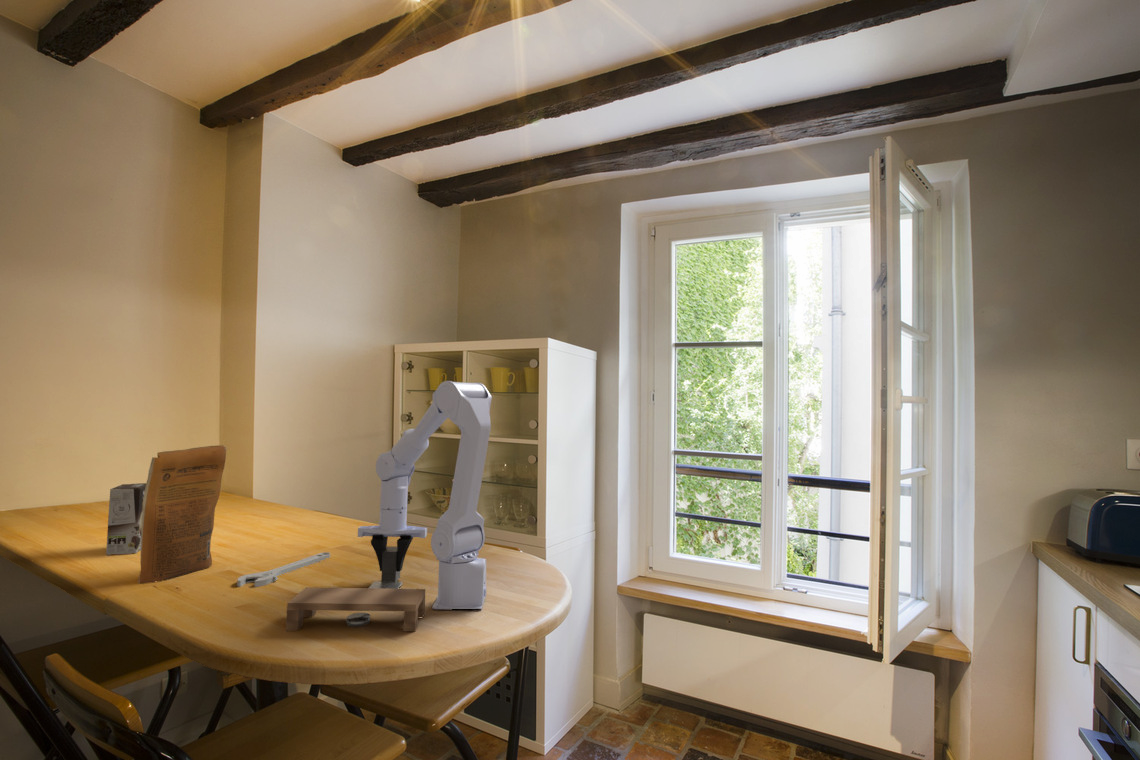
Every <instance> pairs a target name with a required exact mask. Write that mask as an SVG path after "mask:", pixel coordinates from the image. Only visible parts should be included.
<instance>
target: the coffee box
mask: <svg viewBox="0 0 1140 760" xmlns="http://www.w3.org/2000/svg"><path fill="white" fill-rule="evenodd" d="M146 483H147V482H145V483H144V482H143V483H129V484H128V483H125V484H124V483H123V484H119V485H117V486H115V487H113V488H110V489H109V490H110V491H109V501H108V503H109V505H108V516H107V517H108V518H107V531H106V532H107V535H106V549H105V551H106V552H105V555H106V556H110V555H111V554H116V555H131V554H132V553H135V554H137V553H138V552H141V527H142V512H143V498H144V493H145V488H146ZM132 555H133V554H132Z"/></svg>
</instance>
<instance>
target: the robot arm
mask: <svg viewBox="0 0 1140 760" xmlns="http://www.w3.org/2000/svg"><path fill="white" fill-rule="evenodd" d="M492 400H493V396H492V394H491V393H490V392H489V390H488V388H487V387H486V386H485V385H484V384H483V383H481V382H460V381H452V380H446V381H442V382H441V383H440V384H439V385H438V386H437V389H435V391H433V392H432V403H430V406H429V407H428V408H427V410H426V412H425V413H424V415H423V416H422V418H420V421H419V422H418V423H417V425H416V426H415V428H409V429H405V430H404V431H403V432H402V436H401V437H400V438H399V440H398V441H397V442H396V443H395V444H394V445H393V446H392V447H391V450H388V451H387V452H382V453H380V454H379V456H378V457H377V460H376V462H375V472H376V474H377V476H378V478H379V479H380V502H379V522H378V523H379V524H378V525H366V526H365V525H361V526H359V527H357V537H358V538H363V537H372V538H371V540H370V545H371V547H372V549H373V550H374V553H375V554H376V557H377V558H376V559H377V561H378V565H379V572H382V552H383V551H384V550H385V548H386V547H387V546H388V539H389V538H388V537H390V538H391V537H393V538H397V537H398V539H397V540H396V547H397V551H398V558H397V571H400V572H401V571H402V570H403V565H404V561H405V558H406V555H407V552H408V549H409V548H410V545H411V544H412V541H413V539H414V538H420V539H425V538H427V537H428V536H427V534H428V527H426V526H425V527H424V526H423V527H422V526H416V525H415V526H414V525H407V524H408V523H407V520H408V519H407V518H408V498H409V497H408V493H409V490H408V489H409V486H410V484H411V478H412V476H413V474H414V472H415V469H416V465H415V463H416V462H417V461H418V460H419V458H420V457H421V456H422V455H423V453H424V452H425V451H426V450H427V449H428V448H429V446H430V445H429V444H430V441H429V438H430V437H431V436H432V435H433V434H434V433H435V432H436V431H437V430H438V429H439V428H440V427H441V426H442V424H443V423H445V421H446V420H448V419H449V420H450V421H451V422H452V423H453V424H454V425H456V426H457V427H458V429H459V430H460V432H461V433H460V438H459V445H458V446H459V447H458V451H457V457H456V463H455V470H454V474H453V479H452V480H453V481H452V485H451V493H450V499H449V504H448V509H447V510H446V511H445V512H444V513H442V515H441V516H440V517H439V518H438V519H437V524H436V526H435V529H434V531H433V532H432V535H431V538H430V547H431V551H432V553H433V555H434V557H436V558H435V559H436V560H438V581H437V583H438V584H437V597H436V599H435V600H434V601H435V602H434V603H433V604H432V609H433V610H452V609H481V610H483V607H484V604H485V600H486V597H487V559H486V558H483V557H479V551H480V550H481V549H482V548H483V546H484V545H485V540H486V537H485V536H486V535H485V529H484V527H485V526H484V525H485V518H483V516H482V515H481V514H480V513H479V512H478V510H477V509H478V505H479V499H480V491H481V487H482V481H483V475H484V469H485V463H486V459H487V458H486V457H487V453H488V452H487V451H488V445H489V440H490V433H491V429H492V428H491V427H492V426H491V425H492V424H491V423H492V421H491V415H490V410H491V405H492ZM484 599H485V600H484ZM483 603H484V604H483ZM482 606H483V607H482Z"/></svg>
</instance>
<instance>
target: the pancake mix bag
mask: <svg viewBox="0 0 1140 760" xmlns="http://www.w3.org/2000/svg"><path fill="white" fill-rule="evenodd" d="M226 459H227V446H225V445H222V444H221V445H220V444H219V445H207V446H198V447H192V448H186V449H185V448H184V449H176V450H167V451H166V450H164V451H160V452H159V451H158V452H157V457H155V456H154V457H152V458H151V462H150V464H149V465H150V466H149V469H148V473H147V474H148V475H147V479H146V482H145V483H146V488H145V493H144V498H143V512H142V527H141V550H140V571H139V572H140V573H139V577H138V581H137V583H138V584H146V583H145V582H152V583H156V582H155V581H159V582H163V581H162V580H164V581H167V579H168V580H171V579H173V578H177V577H181V576H184V575H187V574H190V573H191V574H192V573H195V572H197V571H202V570H205V569H209V568H211V567H212V564H213V559H212V554H211V553H212V552H211V540H212V536H213V531H214V527H215V525H214V524H215V512H216V506H217V505H218V504H217V503H218V500H219V498H220V494H221V487H222V480H223V473H224V470H225V466H226Z"/></svg>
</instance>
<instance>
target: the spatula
mask: <svg viewBox="0 0 1140 760" xmlns="http://www.w3.org/2000/svg"><path fill="white" fill-rule="evenodd" d="M397 558H398V551H397V546H388V545H387V547H386V548H385V550H384V551H383V552H382V571H381V577H380V578H381V581H377V580H376V581H373V582H372V583H371V585H370V586H369V587H368V588H383V589H399V587H400V586H401V585H402V586H403V581H399V580H400V579H401V571H397ZM399 578H400V579H399ZM398 579H399V580H398ZM397 581H398V582H397ZM402 586H401V587H402ZM401 587H400V588H401Z"/></svg>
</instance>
